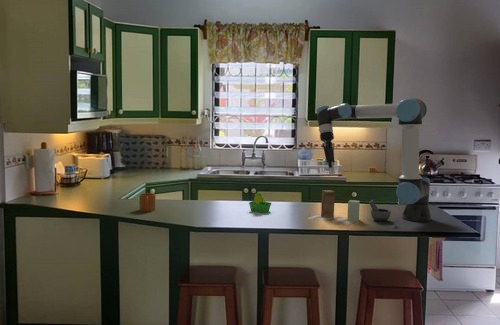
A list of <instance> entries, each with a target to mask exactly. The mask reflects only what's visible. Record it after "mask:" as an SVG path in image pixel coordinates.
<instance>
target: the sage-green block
mask: <svg viewBox="0 0 500 325" xmlns="http://www.w3.org/2000/svg"><path fill="white" fill-rule="evenodd" d="M360 202H361V201H360V200H354V199H353V200H352V199H350V200H348V201H347V217H346V218H347V221H355V222H356V223H358V222H359V221H358V220H360V204H361V203H360ZM357 221H358V222H357Z"/></svg>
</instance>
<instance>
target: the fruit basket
mask: <svg viewBox="0 0 500 325" xmlns="http://www.w3.org/2000/svg"><path fill="white" fill-rule="evenodd" d="M253 199H254V200H251V201H249V202H248V204H249V208H250V212H255V213H261V212H262V213H263V214H266V213H268V212H270V209H271V205H272V202H270V201H269V202H268V201H266V200H264V199H265V197H264V196H263V195H262V194H261V192H256V193H255V195H254V198H253Z"/></svg>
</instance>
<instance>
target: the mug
mask: <svg viewBox="0 0 500 325" xmlns="http://www.w3.org/2000/svg"><path fill="white" fill-rule="evenodd" d="M138 199H139V201H138V202H139V203H138V204H139V206H138V208H139V212H148V213H149V212H154V211H156V194H155V193H151V192H146V193H144V192H143V193H140V194H139V196H138Z"/></svg>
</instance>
